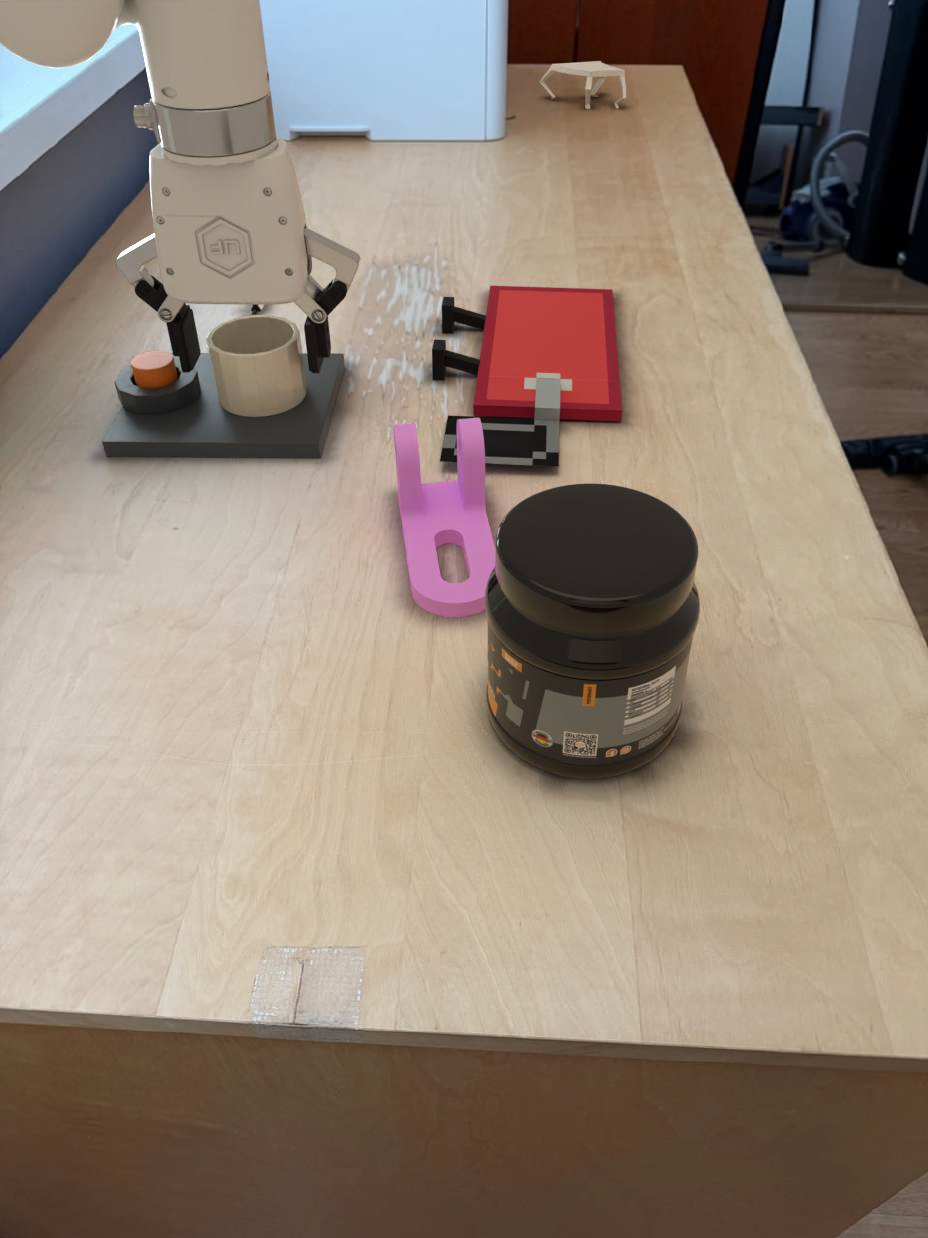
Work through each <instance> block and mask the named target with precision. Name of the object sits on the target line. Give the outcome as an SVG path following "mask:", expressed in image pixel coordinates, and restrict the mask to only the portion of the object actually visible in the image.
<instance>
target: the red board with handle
mask: <svg viewBox="0 0 928 1238" xmlns="http://www.w3.org/2000/svg"><path fill="white" fill-rule="evenodd" d="M613 290H614V289H611V288H610V289H608V288H578V287H552V286H551V287H548V286H518V285H517V286H516V285H515V286H514V285H489V290H488V291H489V292H488V297H487V298H488V299H487V306H486V312H485V314H482V313H479V312H475V311H472V310H468V309H466V308H465V309H464V308H461V307H457V306H456V305H455V297H454V296H443V298H442V303H441V334H443V335H453V334H454V329H455V324H456V323H457V324H461V325H464V326H468V327H471V328H475V329H479V330H480V331H481V330H482V331H483V334H482V342H481V348H480V349H481V350H480V355H479V358H476V357H473V356H469V355H466V354H462V353H458V352H455V351H451V350H448V349H447V340H446V339H433V343H432V347H431V368H432V369H431V371H432V373H431V376H432V381H439V382H445V377H446V373H447V368H450V369H453V370H456V371H461V372H464V373H468V374H471V375H475V376H477V377H476V384H475V390H474V397H473V403H472V404H473V405H472V407H473V410H472V411H473V414H472V415H471V416H470V415H447V418H446V423H445V429H444V435H443V441H442V447H441V452H440V457H439V462H441V463H442V462H444V463H457V419H468V418H480V420H481V424H482V429H483V437H484V447H485V464H487V465H489V464H490V465H493V464H494V465H513V466H537V467H538V466H539V467H560V420H571V421H572V420H573V421H575V420H576V421H595V422H596V421H598V422H622V416H623V403H622V391H621V379H620V365H619V355H618V343H617V329H616V317H615V316H616V315H615V304H614V293H613Z"/></svg>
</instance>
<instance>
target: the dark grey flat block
mask: <svg viewBox="0 0 928 1238" xmlns="http://www.w3.org/2000/svg"><path fill="white" fill-rule="evenodd" d="M170 353H171V354H172V355H173V352H170ZM302 354H303V361H304V369H305V376H306V384H307V385H306V391H307V392H306V396H305V398H304V399H303V401H302V402H301V403H299V404H298V405H297V406H295V407H294V408H292V409H290V410H288V411H285V412H282V413H279V414H275V415H270V416H263V417H247V416H240V415H236V414H233V413H230V412H228V411H226V410H225V409H224V408H223V407H222V406H221V405H220V403H219V400H218V396H217V393H216V388H215V383H214V378H213V373H212V367H211V362H210V357H209V352H201V354H200V357H199V359H198V361H197V363H196V365H195V367H194V369H193V370H191V372H182V369H181V364H180V359H179V356H174V355H173V357H174V362H175V366H176V371H177V375H178V379H177V381H175V382H173V383H171V384H170V385H167V386H163V387H159V388H141V387H138V386H137V385H136V382H135V378H134V375H133V371H132V367H131V364H130V365H128V366H127V367H125V368H123V369H121V370H120V371H119V373H118V375H117V376H116V378H115V379H114V382H113V383H114V387H115V390H116V394H117V397H118V400H119V403H120V404H121V407H120V410H119V412H118V413H117V414H116V417H115V418H114V420H113V422H112V424H111V426H110V427H109V429H108V431H107V432H106V434H105V436H104V438H103V439H102V441H101V443H102V447H103V450H104V455H105V457H106V458H156V459H157V458H158V459H159V458H160V459H161V458H162V459H163V458H164V459H168V458H169V459H170V458H171V459H172V458H176V459H177V458H179V459H180V458H181V459H192V458H193V459H294V460H295V459H301V460H303V459H307V460H309V459H312V460H313V459H317V460H318V459H319V460H320V459H322V456H323V452H324V448H325V445H326V441H327V438H328V434H329V429H330V426H331V422H332V418H333V415H334V411H335V407H336V404H337V400H338V396H339V393H340V392H339V391H340V388H341V386H342V385H341V384H342V381H343V378H344V373H345V370H346V365H345V363H346V362H345V354H344V353H341V352H340V353H332V352H331V354H330V357H329V358H324V360H323V363H322V366H321V370H320V373H312V371H309V364H308V356H307V352H305V353H303V352H302Z"/></svg>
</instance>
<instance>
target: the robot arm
mask: <svg viewBox="0 0 928 1238" xmlns="http://www.w3.org/2000/svg"><path fill="white" fill-rule="evenodd" d="M129 25H133V26H134V27H135V28H136V29H137V31H138V34H139V39H140V45H141V49H142V54H143V59H144V65H145V71H146V75H147V81H148V85H149V91H150V96H151V98H150V99H149V101H148V102H146V103H144V104H143V105H138V104H137V105H134V106H133V112H132V115H133V121H134V124H135V126H136V128H137V129H138V128H139V129H143V128H144V129H146V128H147V130H148V131H153V134H154V135H155V139H156V143H157V145H156V146H154V147H153V148H152V149H151V150H150V151H149V160H148V161H149V164H148V165H149V166H148V167H149V168H148V172H149V191H150V193H149V194H150V204H151V214H152V223H153V233H152V234H150V235H149V236H147V237H145V238H143V239H142V240H140V241H138V242H137V243H135V244H133V245H131V246H129V247H128V248H126V249H125V250H123V251H122V252H121V253H120V254H119V255H118V257H117V258H116V259H115V266H116V267H117V269H118V270H119V272H120V273H121V274H122V276H123V277H124V279H126V281H127V283H129V285H130V286H132V288H133V289H134V293H135V295H136V296H137V297H138V298H139V299H140V300H141V301H143V302H144V303H145V304H147V305H148V307H150V308H151V309H153V310H154V311H155V312H156V313H157V317H158V318H159V319H160V320H161V321H162V322H164V323H165V324H166V327H167V328H166V329H167V332H168V338H169V342H170V347H171V351H172V352H171V353H173V355H174V356H179V359H180V364H181V369H182V372H191V370H193V369H194V367H195V365H196V363H197V361H198V359H199V357H200V354H201V353H202V352H201V345H200V341H199V335H198V330H197V326H196V320H195V315H194V311H193V309H192V308H191V305H190V304H193V305H253V304H263V305H264V306H266V305H287V304H291V303H294V304H295V305H296V306H297V307H298V309H300V310H301V312H303V313H304V314H305V315H306V318H305V321H304V325H303V330H304V340H305V346H306V347H305V348H306V353H307V356H308V364H309V371H312V373H320V370H321V366H322V363H323V360H324V358H329V357H330V354H331V353H332V341H331V333H330V323H329V315H330V314H331V313H332V312H333V311H334V310H335V309H336V308H337V307H338V306H339V305H340V304H341V303H342V302H343V301H344V299H345V298H346V297H347V293H348V291H349V290H350V287H351V285H352V283H353V281H354V278H355V276H356V274H357V272H358V270H359V267H360V263H361V255H359V253H358V252H356V251H355V250H352V249H350V248H348V247H346V246H344V245H342V244H340V243H337V242H336V241H335V240H332V239H330V238H328V237H326V236H325V235H322V234H320V233H318V232H316V231H313V230H312V229H309V228H308V222H307V217H306V212H305V207H304V201H303V198H302V197H303V196H302V194H301V188H300V185H299V179H298V176H297V172H296V169H295V165H294V162H293V159H292V156H291V152H290V150H289V147H288V144H287V141H286V140H285V139H284V138H281V137H278V136H277V130H276V123H275V115H274V114H275V113H274V107H273V98H272V91H271V83H270V74H269V66H268V58H267V51H266V42H265V33H264V25H263V18H262V10H261V1H260V0H0V46H2V47H3V48H5V49H6V50H7V51H9V52H10V53H12V54H13V55H14V56H16V57H18V58H21V59H22V60H24V61H26V62H28V63H30V64H34V65H37V66H41V67H43V68H51V69H65V68H73V67H76V66H79V65H82V64H83V63H86V62H88V61H89V60H91V59H93V58H94V57H95V56H96V55H97V54H98V53H100V52H101V51H102V49H103V48H104V47H105V46H106V44H107V43H108V41H109V39H110V38H111V36H112V34H113V32H114V31H116V30H117V29H119V28H120V27H122V26H129ZM156 258H157V262H158V268H159V273H160V278H161V279H160V280H161V281H160V280H159V279H157V278H156V277H155V276H153V275H152V274H150V273H149V270H148V268H147V267H146V264H147V263H149V262H150V261H152V260H154V259H156ZM313 258H314V259H316V260H318V261H321V262H322V263H324V264H327V265H329V266H330V267H332V268H334V270H335V275H334V277H333V278H332V279H331V281H330V282H329V283H328V284H327V285H326V286H325V287H324V288H323V286H321V285H320V283H318V282H317V280H315V278H314V277H313V276H312V275H311V273H312V270H313Z"/></svg>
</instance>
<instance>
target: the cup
mask: <svg viewBox="0 0 928 1238" xmlns="http://www.w3.org/2000/svg"><path fill="white" fill-rule="evenodd" d="M205 340H206V341H205V342H206V347H207V351H208V352H207V353H209V357H210V362H211V367H212V373H213V378H214V383H215V388H216V393H217V396H218V400H219V403H220V405H221V406H222V407H223V408H224V409H225V410H226V411H228V412H230V413H233V414H236V415H240V416H247V417H263V416H270V415H275V414H279V413H282V412H285V411H288V410H290V409H292V408H294V407H295V406H297V405H298V404H299V403H301V402H302V401H303V399H304V398H305V396H306V392H307V391H306V385H307V384H306V376H305V369H304V361H303V354H302V353H303V347H302V340H301V332H300V329H299V328H298V326H297V324H296V323H295V322H294V321H291V320H290V319H288V318H285V317H282V316H276V315H272V314H256V315H251V314H250V315H244V316H240V317H234V318H232V319H229V320H227V321H224V322H221V323H220V324H218V325H216V326H214V328H212V329H211V330H209V333H208V334H207V336H206V338H205Z"/></svg>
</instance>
